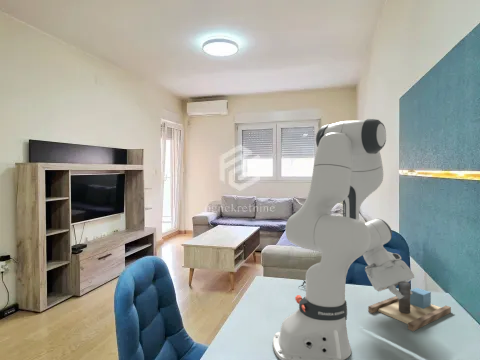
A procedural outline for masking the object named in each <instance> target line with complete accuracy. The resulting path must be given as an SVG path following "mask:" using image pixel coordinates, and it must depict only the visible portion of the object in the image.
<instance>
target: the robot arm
mask: <svg viewBox="0 0 480 360" xmlns="http://www.w3.org/2000/svg"><path fill="white" fill-rule="evenodd" d="M386 130H387V129H386V127H385V125H384V123H383V122H382V121H381V120H380V119H376V118H366V119H357V120H355V119H354V120H344V121H343V120H342V121H338V122H335V123H329V124H325V125H322V126H321V127H320V128H319V130H317V133H316V136H315V142H316V147H317V148H316V153H315V156H314V161H313V167H312V169H313V170H312V175H311V176H312V177H311V183H310V186H309V187H310V188H309V192H308V194H307V196H306V199H305V201H304V203H303V204H302V206H301V207H300V208H299V209H298V210H297V211H296V212H295V213H293V214H292V215H291V216H289V218H288V219H287V221H286V223H285V229H284V230H285V235H286V238H287V240H288V242H290V243H291V244H293V245H296V246H298V247H299V248H301V249H305V250H310V251H316V252H320V253H321V258H320V261H319V262H317V263H315V264H313V265H311V266H310V267H309V268H308V269H307V271H306V272H305V282H306V283H305V296H304V297H302V296H301V295H300V294H297V295H296V296H295V298H294V299H295V301H296V303H297V304H298V309H297V310H295V311H294V312H293V313H291V314H289V316H287V317H286V318H284V319H283V321H282V322H281V326H280V331H276V332H275V334H274V335H273V337H272V349H273V351H274V354H275V355H276V356H277V358H278V359H279V360H346V359H348V358H349V357H350V355H351V354H352V346H351V343H350V340H349V335H348V334H349V333H348V329H347V319H348V306H347V305H348V303H347V300H346V281H347V279H346V278H347V275H348V270H349V269H350V267H351V265H352V264H353V263H354V262H355V261H356V260H357V259H358V258H360V257H362V256H363V259H364V261H365V263H366V264H367V265H365V268H364V271H365V273H366V275H367V278H368V280H369V282H370V284H371V285H372V287H373V288H374V290H376V291H377V292H378V293H379V292H382V291H385V290H389V292H391V293H392V294H394V295H395V296H397V298H398V299H402V298H404V295H403V293H402V292H399V289H397V286H399V282H401V281H404V282H408V283H410V281H412V280H413V279H414V278H415V273H414V272H413V271H412V269H411V268H410V267H409V265H408V264H407V263H406V262H405V261H404V260H402V256H401V255H400V254H399V253H396V252H395V253H393V252H390V251H388V250H387V249H386V248H385V247H384V245H385V244H387V243H389V242H390V241H391V240H392V237H393V231H392V228H391V227H390V225H389V223H387V222H386V221H385V220H383V219H381V218H374V219H371V220H368V221H366V222H364V221H361V220H360V210H361V209H360V208H361V205H362V204H363V203H364V201H365V200H366V199H367V198H369V196H370V195H371V194H373V193H374V192H376V191H377V190H378V188H380V186H381V185H382V183H383V180H384V167H383V161H382V155H381V150H382V149H383V148H384V146H385V145H386V141H387V131H386ZM339 203H342V215H334V214H332V215H331V212H332V210H333V208H335V206H337V204H339ZM411 290H412V289H410V295H412V294H413V293H412V291H411Z"/></svg>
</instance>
